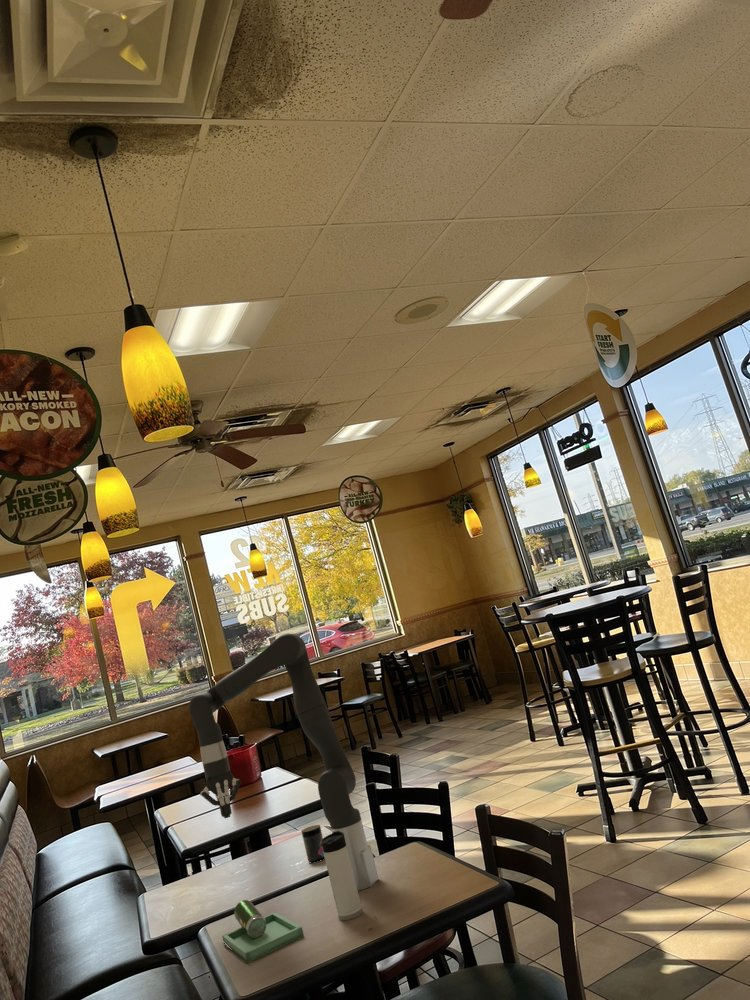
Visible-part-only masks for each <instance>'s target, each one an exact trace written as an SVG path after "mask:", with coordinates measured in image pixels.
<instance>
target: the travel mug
mask: <svg viewBox="0 0 750 1000" xmlns="http://www.w3.org/2000/svg"><path fill="white" fill-rule="evenodd" d="M321 842H322V847H323V851H324V856H325V859H324V861H325V865H326V868H327V873H328V876H329V881H330V887H331V890H332V895H333V898H334V902H335V907H336V911H337V915H338V920H340V921H350V920H353V919H355V918H358V917H359V916H360V915H362V913H363V908H362V905H361V900H360V895H359V890H358V891H357V886H356V882H355V878H354V874H353V870H352V866H351V861H350V857H349V853H348V849H347V845H346V842H345V837H344V833H343V832H340V831H335V832H333V833H332V832H331V833H330V834H328V835H326V836H324V837H323V839H322V841H321Z"/></svg>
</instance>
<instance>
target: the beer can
mask: <svg viewBox="0 0 750 1000" xmlns="http://www.w3.org/2000/svg"><path fill="white" fill-rule="evenodd" d="M233 911H234V912H233V913H234V918H235V920H236V921H237V922H238V924H239V925H240V926H241V927H243V929H244V930H245V931H246V933H247V934H248V935H249V936H250V937H253V938H258V937H260V936H261V935H263V933H264V932H265V930H266V920H265V918H264V917H265V916H264V915H263V914H262V913H261V912H260V911H259V910H258V908H256V906H255V905H254V904H253V902H252V901H250V900H247V899H244V900H243V899H242V900H241V901H239V902H238V903H237V904H236V906H235V908H234V910H233Z"/></svg>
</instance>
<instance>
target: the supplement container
mask: <svg viewBox="0 0 750 1000" xmlns="http://www.w3.org/2000/svg"><path fill="white" fill-rule="evenodd" d="M301 837H302V840H303V844H304V849H305V853H306V857H307V861H308V863H310V862H311V863H310V864H315V863H314V862H317V861H320V860H322V861H324V860H325V859H324V858H325V856H324V851H323V847H322V842H321V841H322V839H323V838H324V836H323V832H322V828H321V825H320V824H314V825H311V826H308V827H305V828H304V829H302V830H301ZM323 859H324V860H323ZM320 862H321V861H320ZM317 863H318V862H317Z"/></svg>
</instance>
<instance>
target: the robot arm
mask: <svg viewBox="0 0 750 1000" xmlns="http://www.w3.org/2000/svg"><path fill="white" fill-rule="evenodd" d="M283 666H284V667H285V670H286V672H287V674H288V677H289V678H290V682H291V688H292V697H293V703H294V708H295V709H294V710H295V712H296V715H297V718H298V721H299V723H300V725H301V726H300V727H301V729H302V731H303V733H304V734H305V736H306V737H307V738H308V739H309V741H310V742H311V743H312V745H314V747H315V748H316V750H318V752H319V754H320V756H321V759H322V762H323V764H324V767H325V770H326V771H324V772H322V774H321V775H319V778H318V782H317V789H318V794H319V795H318V796H319V798H320V802H321V806H322V810H323V813H324V816H325V819H326V821H328V823H329V827H330V831H331V834H332V833H333V832H335V831H340V832H343V833H344V837H345V842H346V845H347V849H348V853H349V857H350V861H351V866H352V870H353V874H354V878H355V882H356V886H357V891H358V892H359V891H362V890H365V889H367V888H372V887H373V885H375V884H376V882H377V881H378V880H379V879H378V878H379V874H378V871H377V866H376V862H375V858H374V854H373V849H372V846H371V845H370V844H368V841H367V837H366V833H365V830H364V829H365V828H364V824H363V820H362V816H361V812H360V810H359V809H358V808H355V807H354V806H353V805H352V801H351V798H350V795H351V794H352V793H353V792H354V790H355V789H356V786H357V785H356V783H357V782H356V776H355V771H354V770H353V767H352V765H351V764H350V762H349V759H348V757H347V756H346V752H345V751H344V749H343V747H342V744H341V742H340V738H339V736H338V733H337V730H336V727H335V726H334V723H333V720H332V717H331V714H330V711H329V709H328V706H327V703H326V701H325V698H324V696H323V694H322V690H321V689H320V685H319V683H318V682H317V679H316V677H315V674H314V672H313V669H312V665H311V662H310V659H309V653H308V650H307V646H306V643H305V641H304V639H303V638H302V637H301V636H299V635H298V634H295V633H288V632H287V633H282V634H280V635H279V636H277V637H276V638H275V639H274V640H273V641H272V642H271V643H270V644H269V645H268V646H267V647H266V648H265V649H263V650H262V651H260V653H259V654H257V655H256V656H255V657H254V658H252V659H251V660H249V661H248V662H246V663H244V664H243V665H241V666H240V667H238V668H236V669H235V670H233V671H232V672H230V673H228V674H227V675H226V676H224V677H222V678H221V679H220V680H218V681H217V683H215V685H214V686H212V687H210V688H209V689H207V690H206V691H204V692H201V693H198V694H194V696H193V697H192V698H191V699H190V701H189V703H188V710H189V716H190V718H191V720H192V723H193V726H194V728H195V730H196V732H197V738H198V742H199V743H198V744H199V748H200V757H201V761H202V766H203V772H204V773H203V774H204V777H205V784H204V785H205V787H204V788H203V790H202V791H200V793H199V795H200V796H201V797H203V798H204V799H205V800H206V801H207V802H209V804H211V805H213V806H215V807H216V806H218V807H219V811H220V815H221V817H222V818H224V819H228V818H230V817H231V815H232V808H231V802H232V801H233V800H235V799H236V796H237V793H238V791H239V789H240V786H241V783H242V780H241V779H239V778H235V777H234V775H233V774H232V772H231V766H230V763H229V758H228V752H227V749H226V746H225V742H224V739H223V735H222V729H221V726H220V724H219V723H218V722H217V721H216V720H215V717H214V713H215V712H217V711H218V710H219V709H221V708H222V707H223V706H224V705H226V704H227V703H228V702H230V701H232V700H234V699H235V698H237V697H239V695H241V694H243V693H245V692H246V691H248V689H250V688H251V687H252V686H253V685H255V683H257V682H258V681H259V680H260V679H261V678H263V677H264V676H266V675H267V674H268V673H270V672H272V671H274V670H276V669H278V668H280V667H283ZM231 786H232V787H231ZM230 788H231V790H230ZM210 792H211V793H212V794H214V795H215V798H213V797H212V796H211V795H210Z"/></svg>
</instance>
